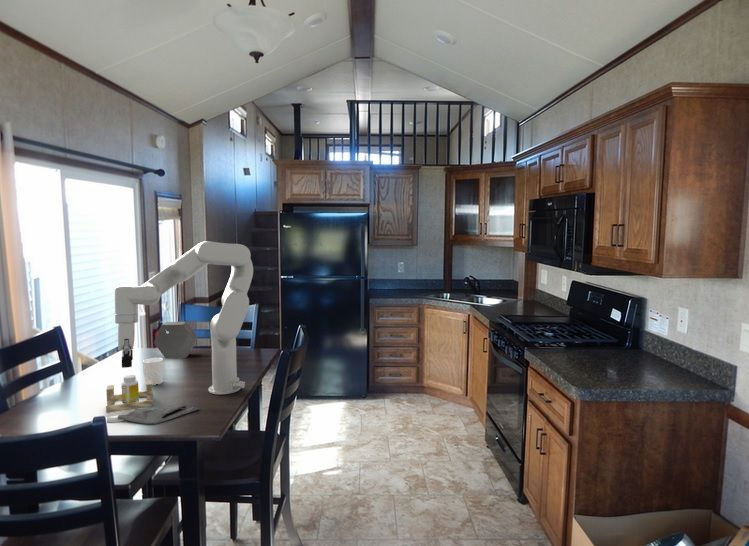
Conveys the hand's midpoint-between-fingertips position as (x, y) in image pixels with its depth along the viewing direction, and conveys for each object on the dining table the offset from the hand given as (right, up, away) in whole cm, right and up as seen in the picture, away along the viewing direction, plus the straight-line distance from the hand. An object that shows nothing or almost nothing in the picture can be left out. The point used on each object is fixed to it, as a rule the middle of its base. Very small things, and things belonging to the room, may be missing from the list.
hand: (127, 363), depth 172 cm
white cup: (-2, -13, +25) cm, 28 cm away
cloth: (+17, -16, -12) cm, 26 cm away
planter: (-11, -10, +68) cm, 70 cm away
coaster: (+3, -16, -12) cm, 20 cm away
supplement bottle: (0, -15, +1) cm, 15 cm away
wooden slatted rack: (0, -15, +1) cm, 15 cm away
